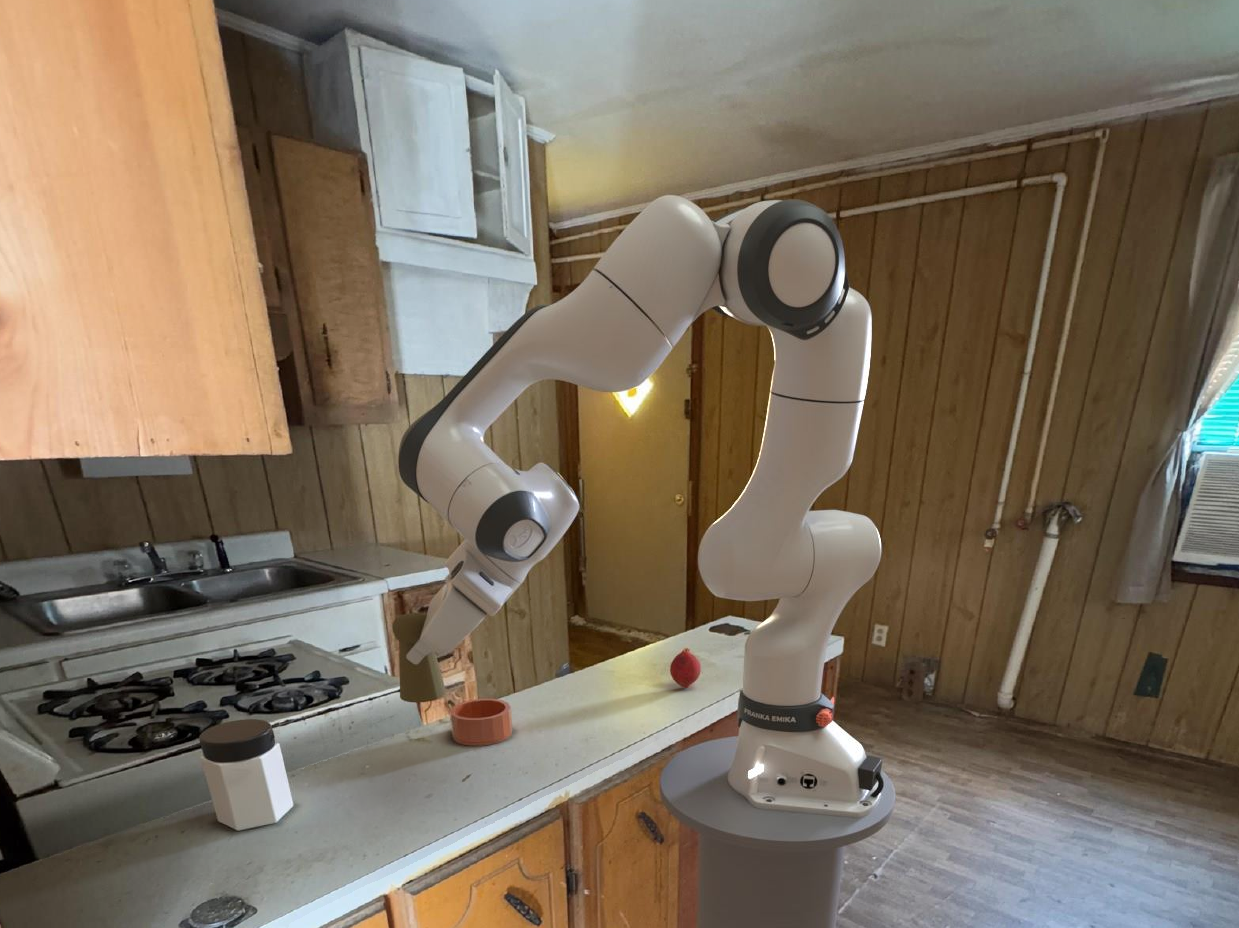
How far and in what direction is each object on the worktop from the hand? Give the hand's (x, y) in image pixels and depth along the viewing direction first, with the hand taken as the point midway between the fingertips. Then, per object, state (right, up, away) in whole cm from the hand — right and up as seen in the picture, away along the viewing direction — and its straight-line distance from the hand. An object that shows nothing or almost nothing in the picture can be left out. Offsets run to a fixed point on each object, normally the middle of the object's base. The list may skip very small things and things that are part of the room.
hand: (412, 654), depth 97 cm
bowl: (+4, -10, +24) cm, 27 cm away
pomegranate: (+38, -1, +45) cm, 59 cm away
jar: (-21, -21, 0) cm, 30 cm away
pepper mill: (+1, -5, +3) cm, 6 cm away
